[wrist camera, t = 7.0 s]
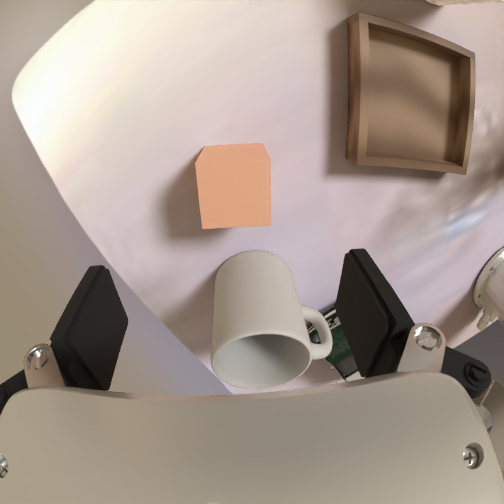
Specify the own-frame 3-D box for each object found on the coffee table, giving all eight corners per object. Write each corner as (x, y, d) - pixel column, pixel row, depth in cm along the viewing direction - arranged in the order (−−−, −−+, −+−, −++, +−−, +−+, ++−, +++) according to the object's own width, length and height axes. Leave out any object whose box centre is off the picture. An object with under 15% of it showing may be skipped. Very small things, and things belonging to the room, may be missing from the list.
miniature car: (359, 280, 32) (385, 328, 26) (398, 343, 40) (416, 381, 34) (298, 318, 35) (311, 370, 28) (352, 370, 43) (365, 409, 36)
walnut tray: (451, 167, 24) (465, 174, 22) (345, 157, 24) (356, 165, 22) (459, 52, 17) (474, 53, 15) (346, 18, 17) (358, 12, 15)
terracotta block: (263, 196, 26) (270, 225, 21) (208, 199, 26) (202, 229, 21) (262, 143, 23) (270, 159, 18) (204, 146, 23) (195, 163, 18)
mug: (207, 302, 32) (200, 383, 23) (226, 240, 28) (224, 321, 19) (301, 320, 35) (319, 394, 26) (332, 267, 31) (366, 342, 21)
